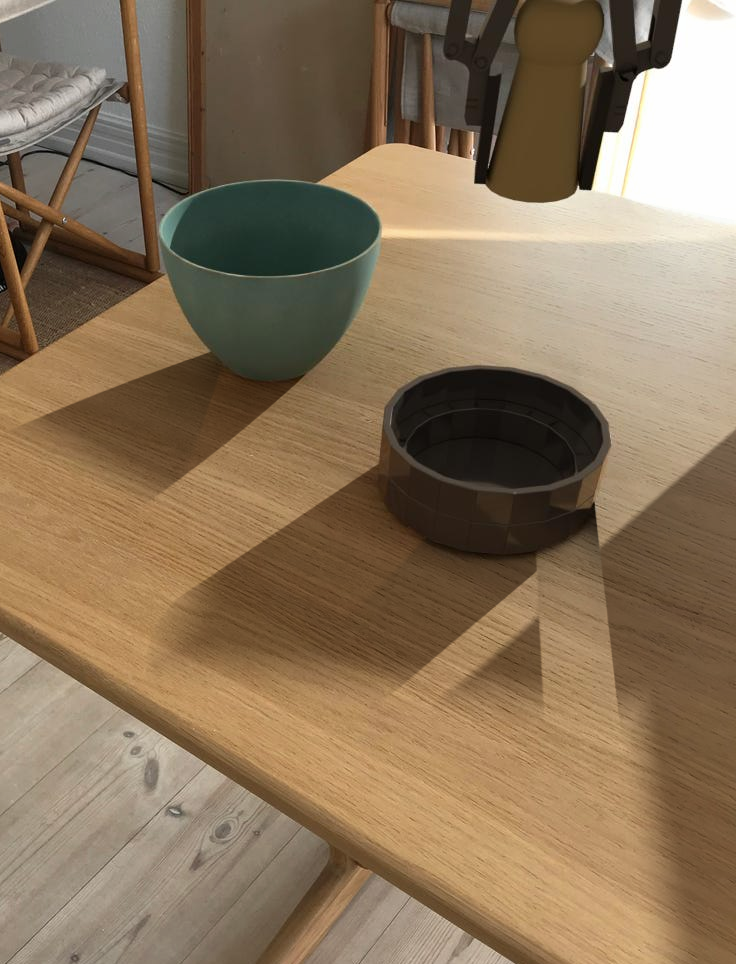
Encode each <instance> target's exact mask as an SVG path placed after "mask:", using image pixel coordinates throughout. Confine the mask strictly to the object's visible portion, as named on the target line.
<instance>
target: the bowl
mask: <svg viewBox="0 0 736 964" xmlns="http://www.w3.org/2000/svg"><path fill="white" fill-rule="evenodd" d="M606 418H607V417H605V415H604V414H603V412H602V411H601V410H600V408H599V407H598V406H597V404H596V403H595V402H593V401H592V400H591V399H589V398H588V397H587V396H586V395H584V394H582V393H581V392H580V391H579V390H578V389H576V388H574V387H573V386H571V385H569V384H567V383H565V382H562V381H559V380H557V379H555V378H553V377H551V376H549V375H546V374H543V373H539V372H534V371H530V370H525V369H521V368H517V367H512V366H500V365H488V364H487V365H485V364H473V365H463V366H461V365H460V366H451V367H445V368H442V369H439V370H435V371H431V372H430V373H426V374H422V375H419V376H417V377H416V378H414V379H412V380H411V381H409V382H407V383H406V384H404V385H403V386H401V387H399V388H398V389H396V391H395V392H394V394H393V395H392V396H391V398H390V399H389V400H388V402H387V403H386V405H384V409H383V418H382V427H381V437H380V448H379V460H378V473H377V485H376V486H377V488H378V491H379V493H380V496H381V498H382V501H383V503H384V505H385V507H386V508H387V509H388V510H389V511H390V512H391V513H392V515H393V516H394V517H395V518H396V519H397V520H398V521H399V522H400V523H401V524H403V526H405V527H406V528H408V529H410V530H412V531H414V532H415V533H417V534H418V535H420V536H422V537H423V538H425V539H427V540H429V541H431V542H433V543H436V544H440V545H443V546H446V547H449V548H453V549H455V550H459V551H464V552H468V553H469V552H470V553H479V554H490V555H504V556H505V555H513V554H522V553H531V552H538V551H540V550H543V549H546V548H549V547H552V546H554V545H557V544H559V543H562V542H565V541H567V540H568V539H569V538H570V537H572V536H573V535H575V533H576V532H577V531H579V530H580V529H582V528H583V527H584V526H585V525H586V524H587V523H588V521H589V518H591V514H592V512H593V510H594V508H595V506H596V503H595V502H596V499H597V497H598V495H599V492H600V488H601V484H602V481H603V477H604V474H605V470H606V467H607V463H608V459H609V455H610V452H611V450H612V445H613V442H612V435H611V430H610V429H611V428H610V423H609V421H608V420H607V419H606Z"/></svg>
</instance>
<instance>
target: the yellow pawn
mask: <svg viewBox="0 0 736 964" xmlns="http://www.w3.org/2000/svg"><path fill="white" fill-rule="evenodd" d="M604 28H605V13H604V10H603V7H602V4H601V2H600V1H599V0H525V1H523V4H522V5H521V6H520V7H519V9H518V12H517V14H516V17H515V19H514V26H513V37H514V38H513V39H514V45H515V48H516V50H517V52H518V54H519V56H518V58H517V63H516V66H515V70H514V72H513V77H512V80H511V83H510V87H509V91H508V94H507V98H506V102H505V106H504V109H503V111H502V112H503V113H502V117H501V119H500V122H499V123H500V124H499V128H498V131H497V135H496V138H495V142H494V146H493V149H492V152H491V155H490V158H489V165H488V171H487V178H486V184H485V187H486V188H487V189H488V190H490V192H492V193H493V194H495V195H497V196H499V197H501V198H504V199H508V200H511V201H515V202H522V203H530V204H532V203H533V204H545V203H547V204H548V203H555V202H560V201H562V200H563V201H564V200H566V199H568V198H571V197H572V196H573V195H575V194H576V193H577V191H578V189H579V183H578V176H579V163H580V158H581V151H582V149H581V147H582V139H583V138H582V137H583V136H582V135H583V125H584V124H583V122H584V112H585V111H584V110H585V98H586V86H587V84H586V83H587V75H588V74H587V73H588V59H589V58H590V57H591V56H592V55H593V54H594V53H595V51H596V50H597V48H598V47H599V44H600V42H601V40H602V37H603V33H604Z"/></svg>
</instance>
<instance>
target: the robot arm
mask: <svg viewBox="0 0 736 964" xmlns="http://www.w3.org/2000/svg"><path fill="white" fill-rule="evenodd" d="M519 2H520V0H492V1H491V3H490V6H489V8H488V10H487V13H486V15H485V17H484V19H483V20H484V21H483V22H482V24H481V27H480V29H479V32H478V34H477V37H475V36H473V35H471V34H468V33H467V31H468V25H469V20H470V14H471V8H472V3H473V0H450V2H449V3H450V4H449V8H448V9H449V10H448V14H447V21H446V25H445V32H444V39H443V45H442V52H443V56H444V57H445V58H446V60H449V61H456V62H458V63H461V64H463V65H464V66H465V67H466V68H467V70H468V73H469V74H468V80H467V81H468V82H467V91H466V98H465V105H464V116H463V117H464V121H465V125H466V126H470V127H471V126H473V127H474V126H475V127H480V128H479V133H478V134H479V135H478V143H477V149H476V156H475V165H474V175H473V185H486V178H487V171H488V167H489V163H490V159H491V151H492V143H493V137H494V130H495V124H496V123H495V122H496V116H497V110H498V103H499V97H500V89H501V83H502V70H503V69H502V67H503V66H502V64H503V63H502V61H494V60H495V57H496V55H497V52H498V50H499V48H500V46H501V43H502V40H503V39H504V36H505V34H506V32H507V30H508V28H509V25H510V22H511V21H512V18H513V16H514V14H515V12H516V9H517V7H518V4H519ZM682 3H683V0H653V5H652V12H651V16H650V17H651V18H650V24H649V28H648V35H647V40H645V41H641V42H638V43H637V39H636V38H637V36H636V24H635V9H634V8H635V7H634V0H608V7H609V8H608V9H609V20H610V31H611V33H610V35H611V44H612V57H613V64H612V66H601V65H600V66H598V72H597V76H596V81H595V87H594V91H593V95H592V96H593V97H592V100H591V106H590V110H589V115H588V121H587V125H586V130H585V133H584V134H585V135H584V140H583V144H582V149H581V153H580V163H579V176H578V190H579V191H590V192H591V191H592V188H593V184H594V180H595V175H596V171H597V166H598V161H599V157H600V151H601V147H602V143H603V138H604V134H605V133H614V134H615V133H617V134H618V133H619V132H620V131H621V129H622V127H623V126H624V124H625V119H626V115H627V110H628V106H629V102H630V97H631V93H632V89H633V85H634V82H635V80H636V79H637V77H638V76H639V75H640V74H641V73H644V72H646V71H650V70H653V69H655V70H661V69H664V68H666V67H667V66H668V65H669V64H671V60H672V58H673V53H674V46H675V41H676V36H677V31H678V26H679V19H680V16H681V15H680V14H681V10H682V5H683V4H682Z"/></svg>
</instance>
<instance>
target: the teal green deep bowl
mask: <svg viewBox="0 0 736 964" xmlns="http://www.w3.org/2000/svg"><path fill="white" fill-rule="evenodd" d="M382 232H383V222H382V219H381V217H380V215H379V213H378V212H377V211H376V210H375V208H374V207H373V206H372V205H370V204H369V203H368V202H367V201H365V200H364V199H362V198H361V197H359V196H357V195H355V194H353V193H350V192H349V191H346V190H344V189H340V188H337V187H334V186H330V185H326V184H322V183H316V182H310V181H302V180H295V179H293V180H292V179H291V180H290V179H258V180H257V179H256V180H247V181H239V182H232V183H227V184H223V185H219V186H214V187H211V188H207V189H205V190H202V191H199V192H196V193H194V194H192V195H189V196H188V197H186V198H183V199H182V200H181V201H179V202H177V203H176V204H175V205H173V206H172V207H171V208H169V209H168V210H167V212H165V214H164V215H163V216H162V218H161V220H160V222H159V225H158V235H159V236H158V239H159V244H160V245H159V246H160V249H161V251H160V252H161V255H162V259H163V263H164V267H165V272H166V275H167V278H168V280H169V285H170V286H171V289H172V291H173V294H174V296H175V297H174V298H175V299H176V301H177V304H178V305H179V307H180V309H181V311H182V314H183V315H184V317H185V319H186V320H187V323H188V324H189V326H190V327H191V328H192V330H193V332H194V333H195V335H196V336H197V338H199V340H200V341H201V342H202V344H203V345H204V346H205V347H206V348H207V349H208V350H209V351H210V352H211V353H212V354H213V355H214V356H215V358H216V359H218V361H220V362H221V363H222V364H223V365H224V366H225V367H226V368H227V369H229V370H230V371H231V372H233V373H235V374H236V375H238V376H240V377H243V378H245V379H249V380H252V381H256V382H257V381H258V382H266V383H267V382H269V383H270V382H283V381H284V382H285V381H289V380H293V379H297V378H300V377H301V376H304V375H305V374H307V373H309V372H310V371H311V370H313V369H314V368H315V367H316V366H318V365H319V364H320V363H321V362H322V361H323V360H324V359H325V358H326V357H327V356H328V355H329V354H330V353H331V351H333V350H334V348H335V347H336V346H337V345H338V344H339V342H340V341H341V340H342V338H343V337H344V336H345V334H346V333H347V332H348V330H349V328H350V327H351V325H352V324H353V322H354V321H355V319H356V317H357V315H358V314H359V312H360V309H361V307H362V305H363V303H364V301H365V299H366V296H367V294H368V291H369V288H370V285H371V283H372V280H373V276H374V273H375V270H376V265H377V262H378V258H379V254H380V248H381V243H382V242H381V241H382V234H383V233H382Z"/></svg>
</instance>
